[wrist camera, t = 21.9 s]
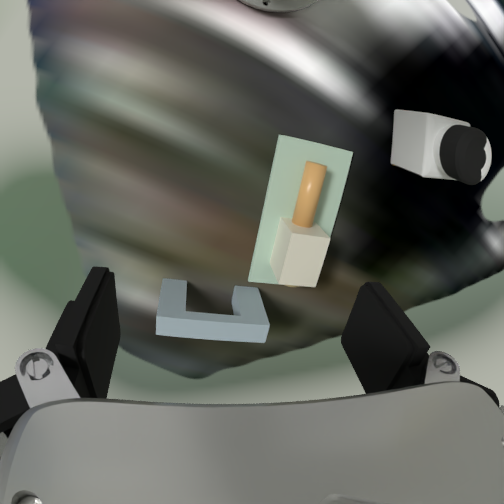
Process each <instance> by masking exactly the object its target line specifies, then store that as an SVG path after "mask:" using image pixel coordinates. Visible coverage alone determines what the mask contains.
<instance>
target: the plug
mask: <svg viewBox="0 0 504 504" xmlns="http://www.w3.org/2000/svg"><path fill="white" fill-rule="evenodd" d="M326 171H327V166H326V165H323V164H320V163H316V162H312V161H306V163H305V167H304V172H303V176H302V180H301V184H300V188H299V193H298V197H297V201H296V205H295V209H294V213H293V217H292V218H286V217H280V221H279V225H278V229H277V234H276V238H275V242H274V246H273V250H272V254H271V259H270V265H271V268H272V270H273V272H274V275H275V277H276V279H277V282H278V284H283V285H286V286H289V287H298V286H306V287H316V284H317V281H318V278H319V275H320V271H321V268H322V265H323V262H324V259H325V256H326V252H327V249H328V246H329V242H330V239H331V238H330V237H329V236H328V235H327V234H326V233H325V232H324V231H323V230H322V229H321V228H320V226H319V225H318V224H317V223H316V222H313V221H314V217H315V213H316V210H317V206H318V202H319V198H320V194H321V191H322V187H323V183H324V179H325V175H326Z"/></svg>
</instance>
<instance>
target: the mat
mask: <svg viewBox="0 0 504 504" xmlns="http://www.w3.org/2000/svg"><path fill="white" fill-rule="evenodd" d="M352 155H353V152H350V151H347V150H343V149H339V148H335V147H331V146H327V145H323V144H319V143H315V142H311V141H307V140H302V139H298V138H293V137H289V136H284V135H279V137H278V141H277V146H276V151H275V155H274V160H273V165H272V169H271V174H270V179H269V183H268V188H267V193H266V197H265V202H264V207H263V212H262V216H261V221H260V226H259V230H258V235H257V240H256V244H255V249H254V254H253V258H252V263H251V268H250V272H249V277H248V281H249V282H260V283H271V284H278V282H277V279H276V277H275V275H274V272H273V270H272V268H271V265H270V259H271V254H272V250H273V246H274V242H275V238H276V234H277V229H278V225H279V221H280V217H286V218H292V217H293V213H294V209H295V205H296V201H297V197H298V193H299V188H300V184H301V180H302V176H303V172H304V167H305V163H306V161H312V162H316V163H320V164H323V165H326V166H327V171H326V175H325V179H324V183H323V187H322V191H321V194H320V198H319V202H318V206H317V210H316V213H315V217H314V221H313V222H316V223H317V224H318V225H319V226H320V228H321V229H322V230H323V231H324V232H325V233H326V234H327V235H328V236H329V237H330V236H331V233H332V230H333V226H334V223H335V219H336V216H337V212H338V208H339V205H340V201H341V197H342V194H343V190H344V186H345V182H346V179H347V175H348V171H349V167H350V163H351V159H352Z"/></svg>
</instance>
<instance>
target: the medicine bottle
mask: <svg viewBox="0 0 504 504" xmlns="http://www.w3.org/2000/svg"><path fill="white" fill-rule="evenodd" d="M491 157H492V153H491V146H490V143H489V140H488V138H487V137H486V135H485V134H484V132H482V131H481V130H480V129H478V128H474V127H470V124H469V123H468V122H464V121H460V120H456V119H452V118H448V117H444V116H440V115H435V114H431V113H424V112H416V111H408V110H398V109H397V110H395V111H394V125H393V140H392V153H391V164H392V165H394V166H397V167H399V168H402V169H404V170H407V171H409V172H412V173H414V174H417V175H419V176H421V177H426V178H439V179H450V180H458V181H460V182H463V183H465V184H468V185H475V184H477V183H479V182H480V181H482V180H483V179H484V178H485V176H486V175H487V173H488V171H489V168H490V164H491Z"/></svg>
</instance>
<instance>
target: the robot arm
mask: <svg viewBox="0 0 504 504" xmlns="http://www.w3.org/2000/svg"><path fill="white" fill-rule="evenodd" d="M239 1H241V2H242V3H244V4H246V5H248V6H251V7H253V8H256V9H260V10H263V11H269V12H292V11H297V10H300V9H303V8H306V7H308V6H310V5H311V4H313V3H315V2H316V1H317V0H239ZM263 3H266V4H267V6H265V5H263ZM119 341H120V324H119V316H118V308H117V299H116V288H115V277H114V273H113V272H109V268H106V267H92V269H91V271H90V273H89V275H88V276H87V278H86V280H85V282H84V284H83V286H82V288H81V290H80V292H79V294H78V296H77V298H76V300H75V301H69V302H68V303H67V305H66V307H65V309H64V311H63V313H62V315H61V317H60V319H59V321H58V323H57V325H56V327H55V330H54V331H53V334H52V336H51V338H50V340H49V342H48V344H47V347H46V349H42V348H36V349H32V350H29V351H27V352H25V353H23V354H22V355H21V356H20V357H19V358H18V360H17V362H16V365H15V371H16V375H13V376H11V377H9V378H8V379H6V380H3V381H1V382H0V504H33V503H34V504H504V406H501V407H500V408H499V400H498V398H497V396H496V394H495V393H494V391H493V390H491V389H488V388H486V387H484V386H482V385H480V384H478V383H475V382H473V381H471V380H469V379H467V378H465V377H462V376H460V368H459V365H458V363H457V361H456V360H455V359H454V358H453V357H452V356H450V355H449V354H447V353H444V352H440V351H435V352H432V353H431V354H430V355H428V353H427V351H428V350H429V348H430V346H429V344H428V343H427V342H426V340H425V339H424V338H423V336H422V335H421V334H420V332H419V331H418V330H417V329H416V327H415V326H414V324H413V323H412V322H411V321H410V319H409V318H408V317H407V315H406V314H405V313H404V312H403V310H402V309H401V308H400V307H399V305H398V304H397V303H396V302H395V300H394V299H393V298H392V297H391V295H390V294H389V293H388V292H387V290H386V289H385V288H384V287H383V286H382V284H381V283H379V282H366V283H365V284H364V285H363V286H361V287H360V290H359V292H358V295H357V298H356V300H355V303H354V306H353V308H352V311H351V314H350V316H349V319H348V321H347V324H346V326H345V329H344V331H343V334H342V337H341V344H342V346H343V348H344V350H345V352H346V354H347V356H348V358H349V360H350V362H351V364H352V366H353V368H354V370H355V372H356V374H357V376H358V378H359V380H360V382H361V384H362V386H363V388H364V390H365V393H366V394H362V395H354V396H346V397H338V398H329V399H320V400H309V401H296V402H281V403H260V404H185V403H163V402H146V401H133V400H118V399H106V398H107V393H108V388H109V384H110V379H111V374H112V370H113V365H114V361H115V357H116V353H117V349H118V345H119Z"/></svg>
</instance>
